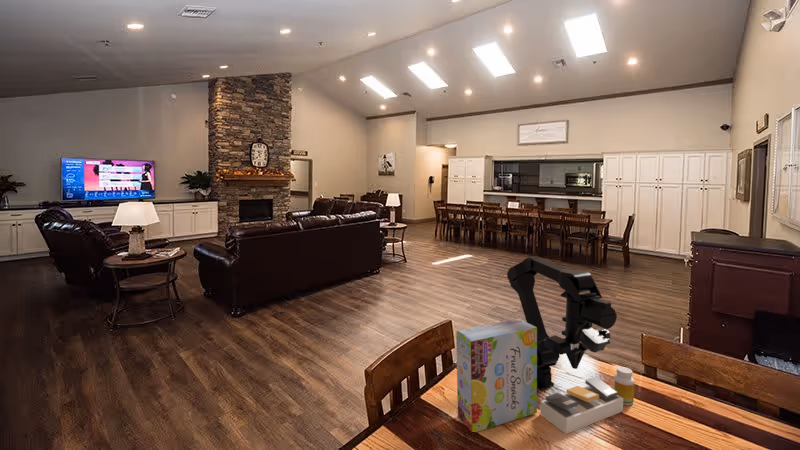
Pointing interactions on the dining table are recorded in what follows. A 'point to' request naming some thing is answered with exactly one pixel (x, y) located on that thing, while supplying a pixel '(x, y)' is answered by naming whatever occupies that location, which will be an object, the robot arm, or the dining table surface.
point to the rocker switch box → (581, 411)
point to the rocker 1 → (562, 401)
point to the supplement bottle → (624, 385)
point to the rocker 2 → (601, 387)
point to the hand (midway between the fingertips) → (574, 368)
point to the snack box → (496, 373)
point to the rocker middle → (583, 394)
